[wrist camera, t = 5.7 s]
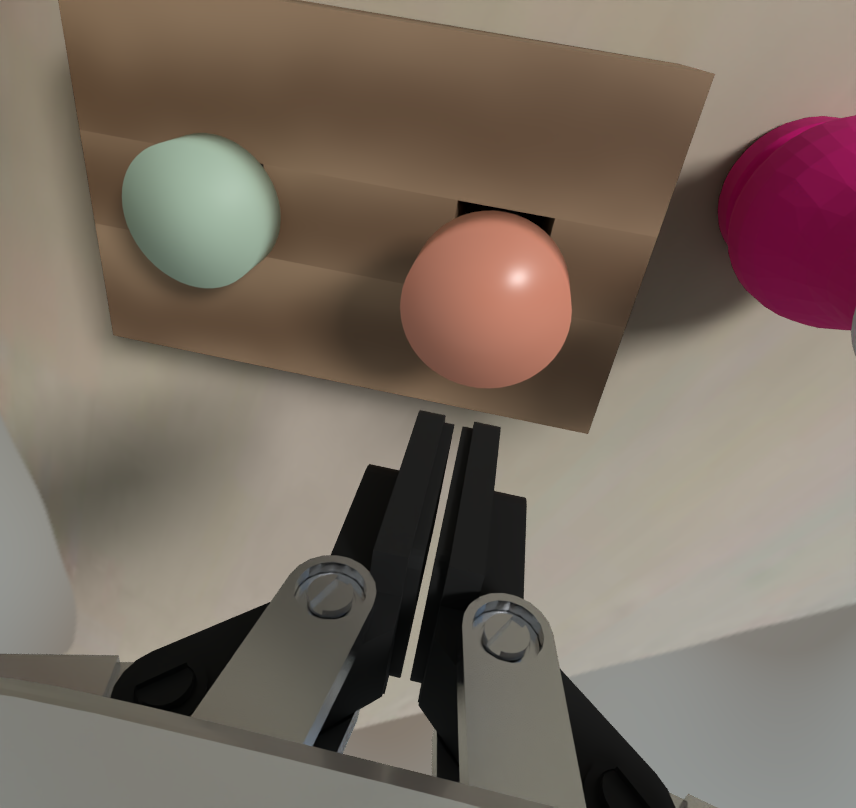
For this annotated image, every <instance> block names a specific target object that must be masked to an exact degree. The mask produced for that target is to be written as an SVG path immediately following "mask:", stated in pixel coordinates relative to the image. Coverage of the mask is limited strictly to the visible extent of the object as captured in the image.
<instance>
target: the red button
mask: <svg viewBox="0 0 856 808" xmlns="http://www.w3.org/2000/svg"><path fill="white" fill-rule="evenodd" d="M400 313H401V321H402V325H403V329H404V332H405V335H406V337H407V339H408V341H409V343H410V345H411V347H412V348H413V350H414V351H415V353H416V354H417V355H418V357H419V358H420V359H421V360H422V361H423V362H424V363H425V364H426V365H427V366H428V367H429V368H431V369H432V370H433V371H435V372H436V373H438V374H439V375H441V376H442V377H444V378H446V379H448V380H450V381H453V382H455V383H458V384H461V385H465V386H469V387H475V388H501V387H506V386H511V385H514V384H517V383H520V382H522V381H524V380H527V379H529V378H531V377H532V376H534V375H536V374H537V373H539V372H540V371H541V370H543V369H544V368H545V367H546V366H547V365H548V364H549V363H550V362H551V361H552V360H553V359H554V358H555V356H556V355H557V354H558V352H559V351H560V349H561V348H562V346H563V344H564V342H565V340H566V337H567V335H568V332H569V328H570V323H571V315H572V306H571V294H570V283H569V274H568V270H567V265H566V263H565V260H564V257H563V255H562V253H561V251H560V250H559V248H558V246H557V245H556V244H555V242H554V241H553V239H552V238H551V237H550V236H549V235H548V234H547V233H546V232H545V231H544V230H543V229H541V228H540V227H539V226H537V225H536V224H534V223H533V222H531V221H529V220H527V219H525V218H523V217H521V216H520V215H519V214H517V213H516V212H514V211H511V210H508V209H493V210H489V211H479V212H472V213H469V214H465V215H462V216H460V217H457V218H455V219H453V220H451V221H449V222H448V223H446V224H445V225H443V226H442V227H441V228H439V229H438V230H437V231H436V232H435V233H434V234H433V235H432V236H431V237H430V238H429V239H428V240H427V242H426V243H425V245H424V246H423V248H422V249H421V251H420V253H419V255H418V256H417V258H416V260H415V262H414V264H413V265H412V267H411V269H410V271H409V273H408V275H407V277H406V279H405V282H404V285H403V288H402V293H401V300H400Z"/></svg>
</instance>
